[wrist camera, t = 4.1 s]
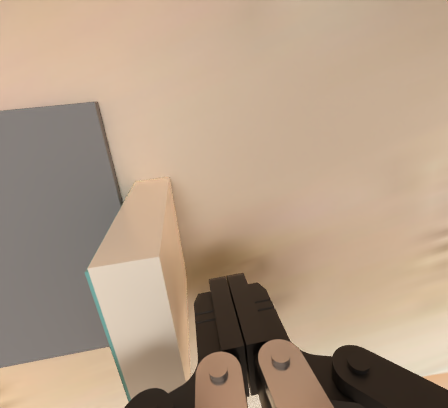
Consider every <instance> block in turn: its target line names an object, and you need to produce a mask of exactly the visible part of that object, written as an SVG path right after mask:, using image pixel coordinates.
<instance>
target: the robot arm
mask: <svg viewBox="0 0 448 408" xmlns="http://www.w3.org/2000/svg"><path fill="white" fill-rule="evenodd" d="M209 284H210V291H211V292H206V293H201V294H198V296H197V298H196V300H195V303H194V310H195V323H196V336H197V350H198V364H197V368H196V370H195V372H194V374H193V375H192V377H191V378H190V379H189V380H188V381H187V382H186V383H184V384H183V385H181V386H180V387H178V388H176V389H175V390H173V391H171V392H169V393H167V392H166V391H165V390H162V389H160V388H150V389H146V390H144V391H142V392H140V393H138V394H137V395H136V396H135V397H133V398H132V399H131V400H130V402H129V403H128V404H127V405H126V406H125V408H248V404H247V397H248V396H249V388H250V392H251V396H252V395H256V394H258V395H259V398H260V402H261V406H262V408H448V390H447V389H445V388H443V387H441V386H438V385H436V384H434V383H433V382H431V381H428V380H426V379H425V378H423V377H421V376H419V375H417V374H415V373H413V372H411V371H409V370H407V369H405V368H403V367H401V366H399V365H397V364H395V363H393V362H391V361H389V360H387V359H384V358H382V357H380V356H378V355H376V354H374V353H372V352H370V351H368V350H366V349H364V348H362V347H359V346H354V345H345V346H342V347H340V348H338V349H337V350H336V351H335V352H334V354H333V357H331V356H320V355H312V354H308V353H305V352H303V351H301V350H300V349H299V348H298V347H297V346H296V345H294V344H293V343H292V342H291V341H290V339H289V338H288V336H287V333H286V331H285V329H284V327H283V325H282V323H281V321H280V319H279V316H278V314H277V312H276V310H275V309H274V306H273V304H272V301H271V300H270V297H269V295H268V293H267V291H266V289H265V288H263V287H262V286H261V285H260V284H259V283H253V284H247V281H246V279H245V276H244V274H243V273H240V274H234V275H229V276H227V280H226V277H225V276H224V277H219V278H213V279H209ZM248 384H249V387H248Z"/></svg>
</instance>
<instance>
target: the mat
mask: <svg viewBox="0 0 448 408" xmlns="http://www.w3.org/2000/svg"><path fill="white" fill-rule="evenodd" d="M122 204H123V202H122V198H121V194H120V190H119V186H118V182H117V178H116V174H115V170H114V166H113V162H112V158H111V154H110V150H109V146H108V142H107V138H106V134H105V130H104V126H103V122H102V118H101V114H100V110H99V106H98V102H87V103H77V104H67V105H56V106H46V107H35V108H25V109H15V110H4V111H0V368H2V367H7V366H12V365H17V364H23V363H28V362H33V361H38V360H43V359H48V358H53V357H58V356H64V355H69V354H74V353H79V352H84V351H89V350H94V349H99V348H104V347H110V346H109V343H108V340H107V337H106V334H105V331H104V328H103V325H102V322H101V319H100V316H99V313H98V310H97V308H96V305H95V302H94V299H93V296H92V293H91V290H90V287H89V284H88V281H87V278H86V275H85V271H86V269H87V267H88V265H89V264H90V262H91V260H92V258H93V256H94V255H95V253H96V251H97V249H98V247H99V246H100V244H101V242H102V240H103V238H104V237H105V235H106V233H107V231H108V229H109V228H110V226H111V224H112V222H113V220H114V219H115V217H116V215H117V213H118V211H119V210H120V208H121V206H122Z"/></svg>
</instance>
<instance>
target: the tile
mask: <svg viewBox="0 0 448 408" xmlns="http://www.w3.org/2000/svg"><path fill="white" fill-rule="evenodd" d="M85 275H86V278H87V281H88V284H89V287H90V290H91V293H92V296H93V299H94V302H95V305H96V308H97V310H98V313H99V316H100V319H101V322H102V325H103V328H104V331H105V334H106V337H107V340H108V343H109V346H110V349H111V351H112V354H113V357H114V360H115V363H116V366H117V369H118V372H119V375H120V378H121V381H122V384H123V387H124V390H125V392H126V395H127V398H128V401H129V402H130V400H131V399H132V398H133V397H135V396H136V395H137V394H138V393H140V392H142V391H144V390H146V389H150V388H160V389H162V390H165V391H166V392H167V393H169V392H171V391H173V390H175V389H176V388H178V387H180V386H181V385H183V384H184V383H186V382H187V381H188V380H189V379H190V378H191V373H190V350H189V327H188V303H187V280H186V269H185V264H184V258H183V252H182V246H181V241H180V235H179V229H178V223H177V218H176V212H175V206H174V200H173V195H172V189H171V183H170V177H164V178H156V179H149V180H141V181H135V183H134V185H133V186H132V188H131V190H130V191H129V193H128V195H127V197H126V199H125V200H124V202H123V204H122V206H121V208H120V210H119V211H118V213H117V215H116V217H115V219H114V220H113V222H112V224H111V226H110V228H109V229H108V231H107V233H106V235H105V237H104V238H103V240H102V242H101V244H100V246H99V247H98V249H97V251H96V253H95V255H94V256H93V258H92V260H91V262H90V264H89V265H88V267H87V269H86V271H85Z"/></svg>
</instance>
